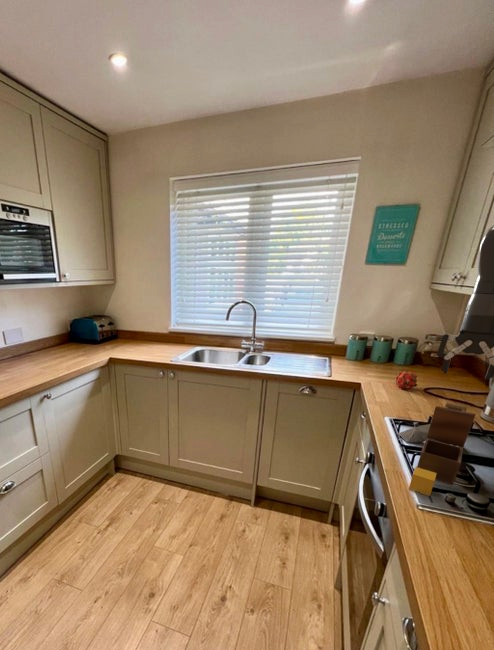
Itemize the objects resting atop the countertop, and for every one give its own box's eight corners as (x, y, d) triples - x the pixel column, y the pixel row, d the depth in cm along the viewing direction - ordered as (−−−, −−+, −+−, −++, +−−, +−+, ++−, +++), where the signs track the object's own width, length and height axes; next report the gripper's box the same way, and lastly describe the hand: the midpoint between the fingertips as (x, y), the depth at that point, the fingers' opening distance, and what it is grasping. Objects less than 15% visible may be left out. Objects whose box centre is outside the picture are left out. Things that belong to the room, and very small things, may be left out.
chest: (453, 485, 84) (460, 463, 82) (415, 473, 89) (421, 452, 87) (455, 468, 91) (463, 447, 89) (420, 458, 96) (426, 438, 94)
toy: (431, 487, 83) (436, 473, 82) (429, 496, 80) (434, 480, 78) (411, 481, 86) (415, 466, 84) (408, 489, 83) (412, 474, 81)
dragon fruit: (405, 387, 161) (404, 397, 153) (391, 375, 163) (389, 385, 154) (421, 376, 156) (421, 386, 147) (406, 364, 157) (405, 373, 148)
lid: (475, 415, 82) (477, 403, 85) (435, 407, 87) (439, 396, 90) (463, 447, 89) (466, 434, 92) (426, 437, 94) (430, 426, 97)
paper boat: (396, 439, 105) (389, 421, 112) (403, 453, 107) (396, 434, 114) (440, 427, 98) (431, 409, 106) (447, 442, 101) (437, 423, 108)
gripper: (524, 313, 79) (501, 377, 85) (450, 309, 88) (433, 368, 94) (526, 316, 74) (502, 384, 80) (447, 312, 83) (430, 374, 88)
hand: (465, 376), depth 87 cm, fingers open, 8 cm apart
